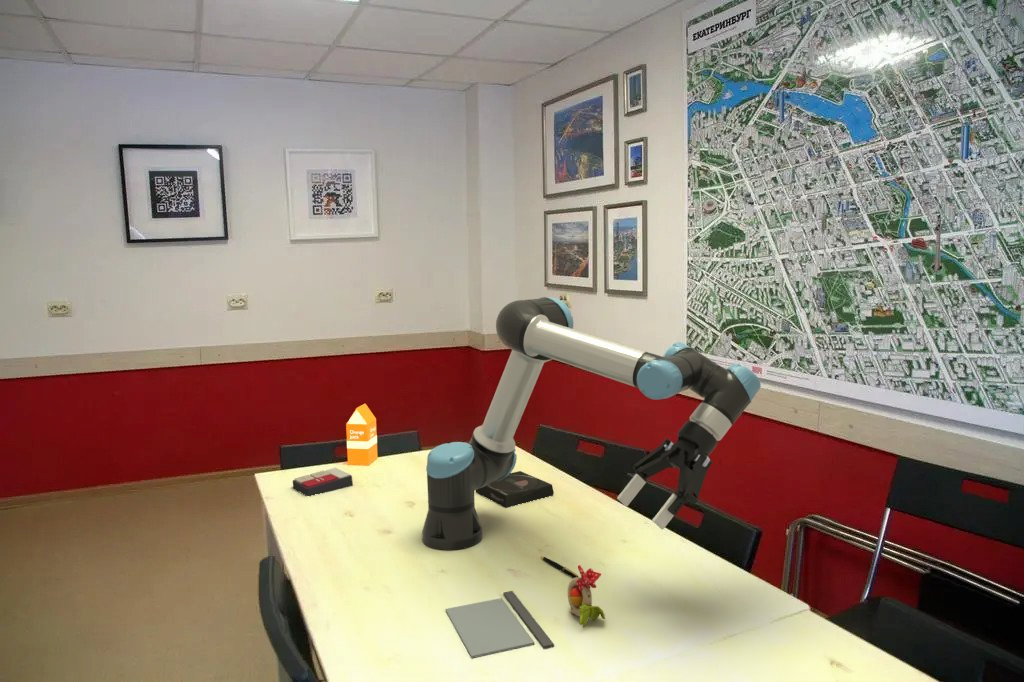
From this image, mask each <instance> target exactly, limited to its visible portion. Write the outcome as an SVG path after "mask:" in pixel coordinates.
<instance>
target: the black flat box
mask: <svg viewBox="0 0 1024 682" xmlns="http://www.w3.org/2000/svg"><path fill="white" fill-rule="evenodd" d="M475 493H476V494H478V495H480V496H482V497H484V498H485V497H486V498H485V499H487V498H488V500H489V499H490V501H491V500H492V501H491V502H494V503H495V502H496V504H498V505H499V506H501V507H503V508H505V509H509V508H512V507H515V505H516V506H519V505H518V504H520V505H523V504H522V503H524V504H527V503H531V502H534V501H533V500H535V501H538V500H537V499H539V500H542V499H541V498H543V499H546V498H545V497H547V498H550V497H549V496H551V497H554V494H555V491H554V488H553V484H552V483H549V482H547V481H544V480H542V479H541V478H538V477H535V476H532V475H530V474H529V473H526V472H523V471H521V470H519V471H513V472H511V473H510V474H509V475H508V476H506V477H505V478H503V479H502V480H500V481H497V482H494V483H492V484H489V485H487V486H484V487H482V488H479V489H477V490H475ZM530 501H531V502H530ZM526 502H527V503H526ZM511 506H512V507H511Z"/></svg>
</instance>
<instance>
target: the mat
mask: <svg viewBox="0 0 1024 682" xmlns="http://www.w3.org/2000/svg"><path fill="white" fill-rule="evenodd" d="M502 595H503V597H505V599H506V600H507V601H508V603H509V604H510V606H511V607H512V608H513V610H514V611H515V612H516V614H517V615H518V616H519V617H520V619H521V620H522V622H523V623H524V625H525V626H526V627H527V628H528V630H529V631H530V632H531V635H533V636H534V638H535V639H536V640H537V642H538V643H539V644H540V646H541V648H543V649H544V650H545V649H549V648H550V649H551V648H553V647H555V643H554V642H553V641H552V640H551V638H550V637H549V636H548V634H547V633H546V632H545V631H544V629H543V628H542V627H541V625H540V624H539V623H538V621H536V619H535V617H533V615H532V614H531V613H530V612H529V610H528V609H527V608H526V606H525V605H524V604H523V602H522V601H521V600H520V599H519V598H518V596H517V595H516V594H515V592H514V591H513V590H510V591H509V590H508V591H505V592H503V594H502ZM510 606H508V604H507V602H506V601H505V600H504V599H503V598H502V597H501V598H495V599H490V600H483V601H479V602H475V603H468V604H464V605H459V606H453V607H448V608H445V612H446V614H447V616H448V618H449V619H450V621H451V624H452V625H453V627H454V628H455V630H456V632H457V634H458V636H459V638H460V639H461V641H462V643H463V645H464V647H465V648H466V650H467V653H468V654H469V656H470V657H471V659H474V658H475V659H476V658H479V657H483V656H487V655H492V654H497V653H501V652H506V651H511V650H514V649H520V648H524V647H528V646H529V647H530V646H532V645H535V641H534V639H533V638H532V637H531V636H530V633H528V632H527V630H526V629H525V627H524V626H523V624H522V623H521V622H520V620H519V619H518V618H517V616H516V615H515V613H514V612H513V611H512V610H511V608H510Z"/></svg>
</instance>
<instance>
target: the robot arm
mask: <svg viewBox="0 0 1024 682" xmlns="http://www.w3.org/2000/svg"><path fill="white" fill-rule="evenodd" d="M495 330H496V331H495V332H496V335H497V336H498V339H499V341H501V343H502V344H503V345H504V346H505V347H506V348H508V349H510V350H511V352H510V353H509V354H510V355H509V358H508V359H507V362H506V364H505V367H504V370H503V372H502V375H501V377H500V379H499V382H498V385H497V387H496V390H495V393H494V396H493V398H492V400H491V403H490V406H489V408H488V410H487V412H486V415H485V418H484V421H483V423H482V424H481V425H479V426H477V427H475V429H474V430H473V432H472V434H471V438H470V440H469V443H468V442H464V441H452V442H450V443H447V442H446V443H442V444H439V445H437V446H435V447H434V448H432V449H431V450H430V451H429V453H428V454H427V459H426V470H425V471H426V482H427V483H426V485H427V501H428V504H427V505H428V510H427V513H426V517H425V519H424V523H423V527H422V532H421V537H422V543H424V544H425V546H428V547H429V548H432V549H437V550H443V551H444V550H445V551H448V550H451V551H452V550H460V549H461V550H462V549H465V548H469V547H472V546H475V545H476V544H478V543H479V542H481V541H482V539H483V527H482V524H481V521H480V518H479V516H478V512H477V509H476V506H475V505H476V504H475V492H476V490H477V489H479V488H482V487H484V486H487V485H489V484H492V483H494V482H497V481H500V480H502V479H503V478H505V477H506V476H508V475H509V474H510V473H513V470H514V469H515V467H516V463H517V459H518V457H517V454H516V442H515V439H514V436H515V433H516V432H517V431H516V430H517V429H518V426H519V424H520V421H521V420H522V416H523V415H524V412H525V409H526V407H527V405H528V402H529V399H530V397H531V395H532V393H533V391H534V387H535V386H536V383H537V380H538V379H539V376H540V374H541V371H542V369H543V366H544V364H545V363H547V362H549V361H550V362H551V361H552V360H554V361H558V362H561V363H564V364H567V365H569V366H573V367H575V368H579V369H581V370H584V371H587V372H591V373H593V374H597V375H599V376H602V377H604V378H608V379H610V380H614V381H616V382H619V383H623V384H626V385H629V386H630V387H631V386H632V387H634V388H637V389H638V390H639V391H640V392H641V393H642V394H643V395H644V396H645V397H647V398H648V399H651V400H658V401H659V400H664V399H669V398H671V397H673V396H675V395H677V394H680V393H682V392H685V391H687V390H690V391H692V392H693V393H695V394H697V395H698V396H699V397H700V398H703V400H702V401H701V403H700V404H698V406H697V407H696V408H695V410H694V411H693V412H692V414H690V416H689V420H687V421H685V423H684V424H683V425H682V427H681V428H680V429H679V430H678V432H677V436H678V440H677V441H676V442H674V443H673V441H671V440H670V438H666V439H664V440H663V441H662V443H661V444H660V445H659V446H657V447H656V448H654V450H653V449H652V451H651V452H649V453H648V454H647V455H645V456H643V457H642V458H641V459H639V460H638V461H637V462H635V463H634V464H633V465H632V469H633V470H634V475H633V476H632V477H631V479H630V480H629V482H628V483H627V484H626V485H625V487H624V489H622V491H621V492H620V493H619V495H618V496H617V497H616V499H617V500H618V501H619V502H621V504H622V505H623V506H625V507H627V508H628V506H629V505H630V503H631V502H632V501H633V500H634V498H635V497H636V496H637V495H638V493H640V491H641V490H642V488H643V487H644V486H645V485H646V484H647V481H648V480H647V479H649V478H650V477H653V476H655V475H657V474H658V473H660V472H662V471H665V470H666V469H673V468H674V469H676V470H677V469H678V470H679V472H678V481H677V489H676V490H675V491H674V493H672V494H671V495H670V497H669V498H668V499H667V500H666V502H665V503H664V504H663V505H662V506H661V508H660V510H659V511H658V512H657V514H655V516H654V517H653V518H652V520H651V521H652V522H653V523H654V524H655V525H656V526H657V527H659V529H661V530H662V531H663V530H664V529H665V528H666V527H667V525H668V524H669V523H670V521H672V519H673V517H674V516H676V515H677V514H678V513H679V512H680V510H681V509H682V507H684V505H685V504H688V503H692V504H693V505H694V504H697V503H698V500H699V497H700V494H701V491H702V487H703V485H704V481H705V479H706V476H707V472H708V470H709V469H710V468H711V466H712V464H713V461H712V460H711V459H710V457H709V456H710V455H711V454H712V452H713V451H714V450H715V449H716V447H717V445H718V441H721V440H722V439H723V438H724V436H725V435H726V434H727V433H728V431H729V429H731V427H732V426H733V425H734V424H735V422H736V421H737V420H738V419H739V418H740V416H741V415H742V413H743V412H744V411H745V410H746V409H747V408H748V407H749V405H751V403H752V400H753V399H754V398H755V396H756V395H757V394H758V392H759V390H760V389H761V387H762V384H761V380H760V378H759V377H758V376H757V374H755V372H754V371H752V370H751V369H749V368H748V367H747V366H745V365H741V364H739V363H732V364H731V365H730V366H729V367H727V368H726V367H723V366H721V365H719V364H718V363H716V362H715V361H713V360H712V359H710V358H708V357H707V356H705V355H703V354H702V353H700V352H699V351H697V349H695V348H693V347H692V346H689V345H687V344H685V343H683V342H680V341H677V342H675V343H673V344H672V345H671V346H669V347H668V349H667V350H666V351H665V353H664V355H663V356H661V355H659V354H654V353H651V352H648V351H646V350H642V349H639V348H636V347H633V346H629V345H626V344H622V343H619V342H616V341H613V340H610V339H607V338H603V337H600V336H597V335H594V334H590V333H587V332H584V331H581V330H577V329H575V328H574V318H573V316H572V313H571V310H570V308H569V307H568V306H567V304H566V303H565V302H563V301H562V300H561V299H559V298H555V297H547V296H542V297H539V298H531V299H530V298H529V299H519V300H513V301H511V302H509V303H507V304H506V305H505V306H504V307H502V309H501V310H500V311H499V313H498V314H497V318H496V321H495Z"/></svg>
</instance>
